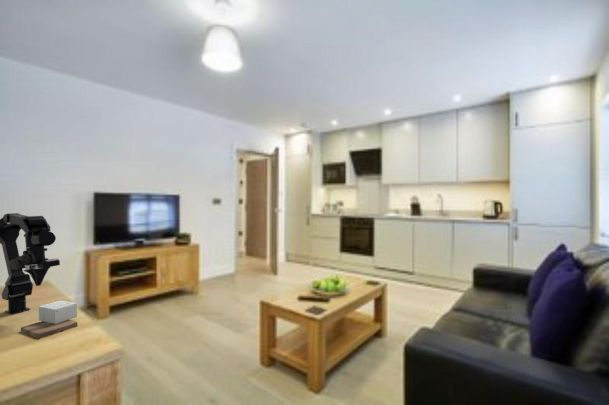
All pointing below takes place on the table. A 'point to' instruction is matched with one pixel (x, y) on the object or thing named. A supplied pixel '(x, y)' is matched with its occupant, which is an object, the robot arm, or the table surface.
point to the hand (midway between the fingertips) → (38, 285)
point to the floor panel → (47, 328)
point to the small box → (57, 312)
